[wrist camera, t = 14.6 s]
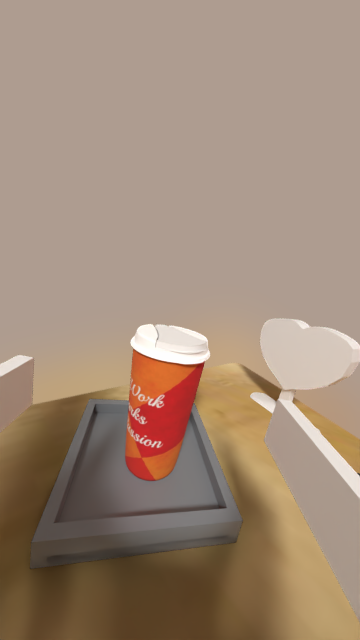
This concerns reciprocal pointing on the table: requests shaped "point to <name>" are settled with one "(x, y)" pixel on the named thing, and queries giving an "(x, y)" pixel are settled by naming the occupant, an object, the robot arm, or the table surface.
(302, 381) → the heart sculpture
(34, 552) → the tray
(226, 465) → the table surface
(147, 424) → the coffee cup
